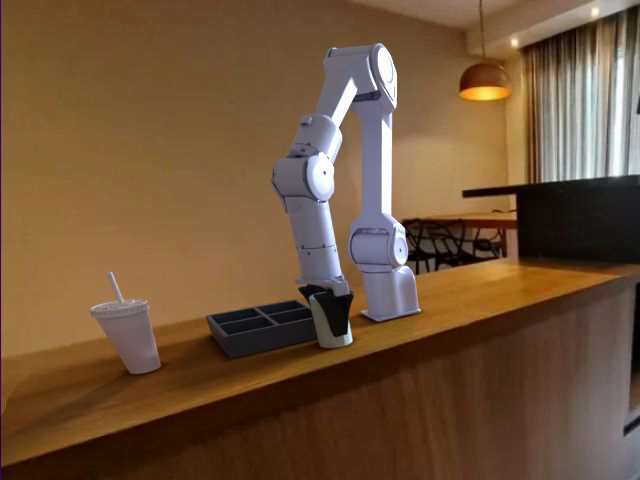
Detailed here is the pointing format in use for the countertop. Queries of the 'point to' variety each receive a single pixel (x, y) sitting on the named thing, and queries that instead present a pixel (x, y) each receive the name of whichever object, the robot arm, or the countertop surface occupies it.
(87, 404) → the countertop surface
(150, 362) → the smoothie
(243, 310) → the tray
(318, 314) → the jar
